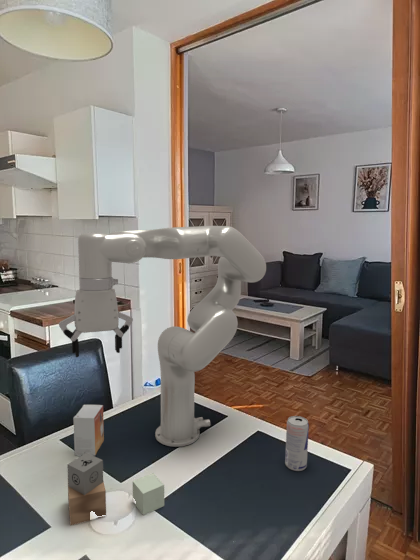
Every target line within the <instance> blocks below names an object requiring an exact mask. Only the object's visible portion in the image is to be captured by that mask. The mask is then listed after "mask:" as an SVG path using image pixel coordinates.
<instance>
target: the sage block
mask: <svg viewBox="0 0 420 560" xmlns="http://www.w3.org/2000/svg"><path fill="white" fill-rule="evenodd" d="M133 498H134V499H135V501H136V505H135V506H136V508H137V510H138V511H139V512H140V514H142V515H143V516H145V515H148V514H150V513H152V512H154V511H156V510H158V509H160V508H162V507H163V508H164V507H165V484H164V483H163V482H162V481H161V479H159V477H157V476H156V474H155V473H154V472H151V473H149V474H147V475H144V476H143V477H140V478H137V479H135V480H132V499H133Z"/></svg>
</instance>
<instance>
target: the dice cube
mask: <svg viewBox="0 0 420 560" xmlns="http://www.w3.org/2000/svg"><path fill="white" fill-rule="evenodd" d="M103 481H104V460H103V459H101V458H99V457H96V455H95V456H93V455H90V454H88V453H85V454H84V455H79V456H78V457H77V458H75V459H74V460H72V461H70V462H69V463H67V488H68V487H70V488H72V489H74V490H76V491H78V492H80V493H81V494H83V495H86V494H87V493H88V492H90V491H91V490H93V489H94V488H96V487H97V486H98V485H100V484H101V483H103Z"/></svg>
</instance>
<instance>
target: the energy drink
mask: <svg viewBox="0 0 420 560" xmlns="http://www.w3.org/2000/svg"><path fill="white" fill-rule="evenodd" d="M309 426H310V425H309V421H308V419H307V418H305V417H303V416H300V415H299V416H298V415H293V416H292V415H291V416H289V417H288V418H287V421H286V433H285V434H286V436H285V437H286V438H285V454H284V455H285V458H284V459H285V460H284V464H285V466H286V467H287V468H288V469H289V470H290V471H295V472H302V471H304V470H305V469H306V468H307V467H308V451H309V450H308V447H309V432H310V431H309V429H310V427H309Z"/></svg>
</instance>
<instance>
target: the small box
mask: <svg viewBox="0 0 420 560" xmlns="http://www.w3.org/2000/svg"><path fill="white" fill-rule="evenodd" d="M72 420H73V421H72V422H73V441H74V442H73V444H74V446H73V447H74V456H82V455H84V454H85V453H88V454H90V455H93V456H95V457H96V455H97V453H98V452H99V449H100V448H101V446H102V444H103V443H104V441H105V437H104V436H105V435H104V434H105V431H104V430H105V429H104V427H105V426H104V425H105V423H104V405H103V404H83V405H82V407H81V408H80V409H79V411H78V412H77V413H76V415H74V416H73V419H72Z"/></svg>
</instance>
